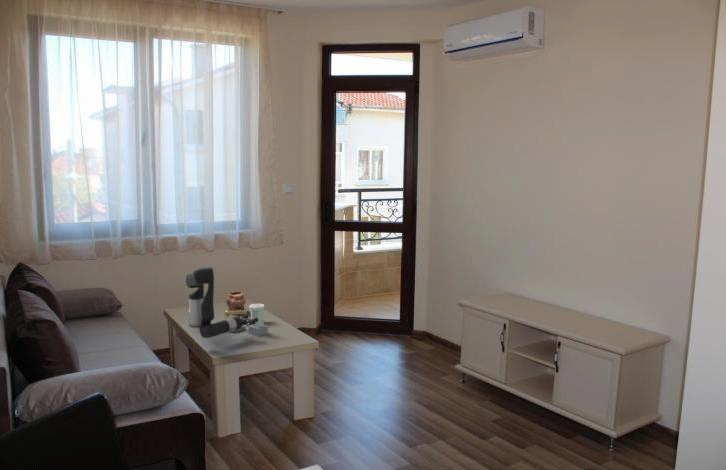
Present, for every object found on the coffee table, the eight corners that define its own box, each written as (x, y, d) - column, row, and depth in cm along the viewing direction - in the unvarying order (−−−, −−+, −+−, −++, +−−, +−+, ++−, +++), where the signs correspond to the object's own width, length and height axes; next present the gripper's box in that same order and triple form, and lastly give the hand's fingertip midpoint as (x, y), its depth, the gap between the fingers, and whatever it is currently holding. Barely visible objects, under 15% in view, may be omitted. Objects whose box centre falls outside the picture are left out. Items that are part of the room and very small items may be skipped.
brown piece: (225, 325, 379) (224, 311, 378) (225, 324, 382) (225, 310, 381) (246, 325, 380) (245, 311, 379) (246, 324, 383) (246, 310, 382)
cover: (258, 328, 367) (257, 310, 365) (252, 327, 370) (252, 309, 368) (263, 326, 371) (263, 309, 369) (258, 325, 373) (258, 307, 372)
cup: (261, 324, 389) (261, 307, 388) (246, 323, 391) (246, 307, 390) (267, 320, 399) (266, 304, 398) (252, 319, 401) (252, 303, 400)
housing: (258, 336, 365) (258, 328, 365) (248, 333, 370) (248, 326, 369) (267, 333, 372) (267, 325, 371) (258, 330, 376) (258, 323, 376)
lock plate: (220, 329, 379) (220, 326, 378) (231, 326, 386) (231, 323, 385) (234, 333, 371) (234, 330, 370) (245, 329, 378) (245, 326, 378)
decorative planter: (221, 310, 423) (220, 291, 421) (237, 308, 430) (237, 288, 428) (233, 317, 407) (233, 296, 405) (250, 314, 414) (250, 294, 412)
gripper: (240, 320, 348) (260, 314, 361) (223, 316, 357) (244, 310, 370) (240, 332, 349) (261, 326, 362) (223, 328, 358) (244, 322, 371)
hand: (252, 318), depth 366 cm, fingers open, 8 cm apart
